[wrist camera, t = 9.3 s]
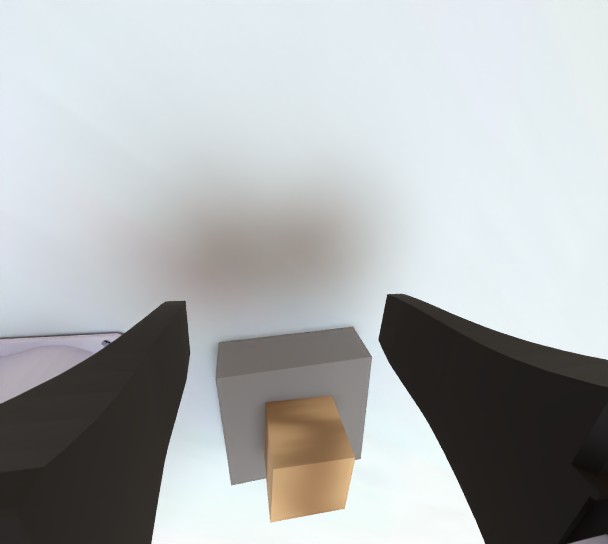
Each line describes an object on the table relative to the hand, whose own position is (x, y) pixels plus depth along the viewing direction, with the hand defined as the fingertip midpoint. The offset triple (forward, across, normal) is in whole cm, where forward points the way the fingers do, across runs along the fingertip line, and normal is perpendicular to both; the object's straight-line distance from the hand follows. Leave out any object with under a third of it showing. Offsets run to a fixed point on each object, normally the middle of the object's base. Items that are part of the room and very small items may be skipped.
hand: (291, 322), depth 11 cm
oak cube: (+6, -2, +12) cm, 13 cm away
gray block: (+10, -2, +12) cm, 16 cm away
